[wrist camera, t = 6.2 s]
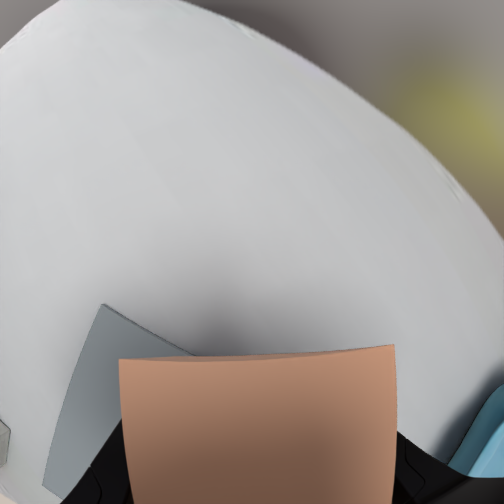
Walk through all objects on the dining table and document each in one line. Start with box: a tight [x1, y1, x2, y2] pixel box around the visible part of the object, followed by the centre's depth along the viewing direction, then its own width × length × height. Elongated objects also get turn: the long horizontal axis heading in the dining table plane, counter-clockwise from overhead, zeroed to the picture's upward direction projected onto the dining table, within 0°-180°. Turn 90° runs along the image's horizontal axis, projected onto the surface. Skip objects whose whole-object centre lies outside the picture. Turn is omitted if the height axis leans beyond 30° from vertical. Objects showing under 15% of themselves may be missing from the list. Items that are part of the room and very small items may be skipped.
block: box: [119, 344, 397, 504], centre depth 9 cm, size 5×5×11 cm
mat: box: [42, 304, 194, 500], centre depth 18 cm, size 22×16×1 cm
